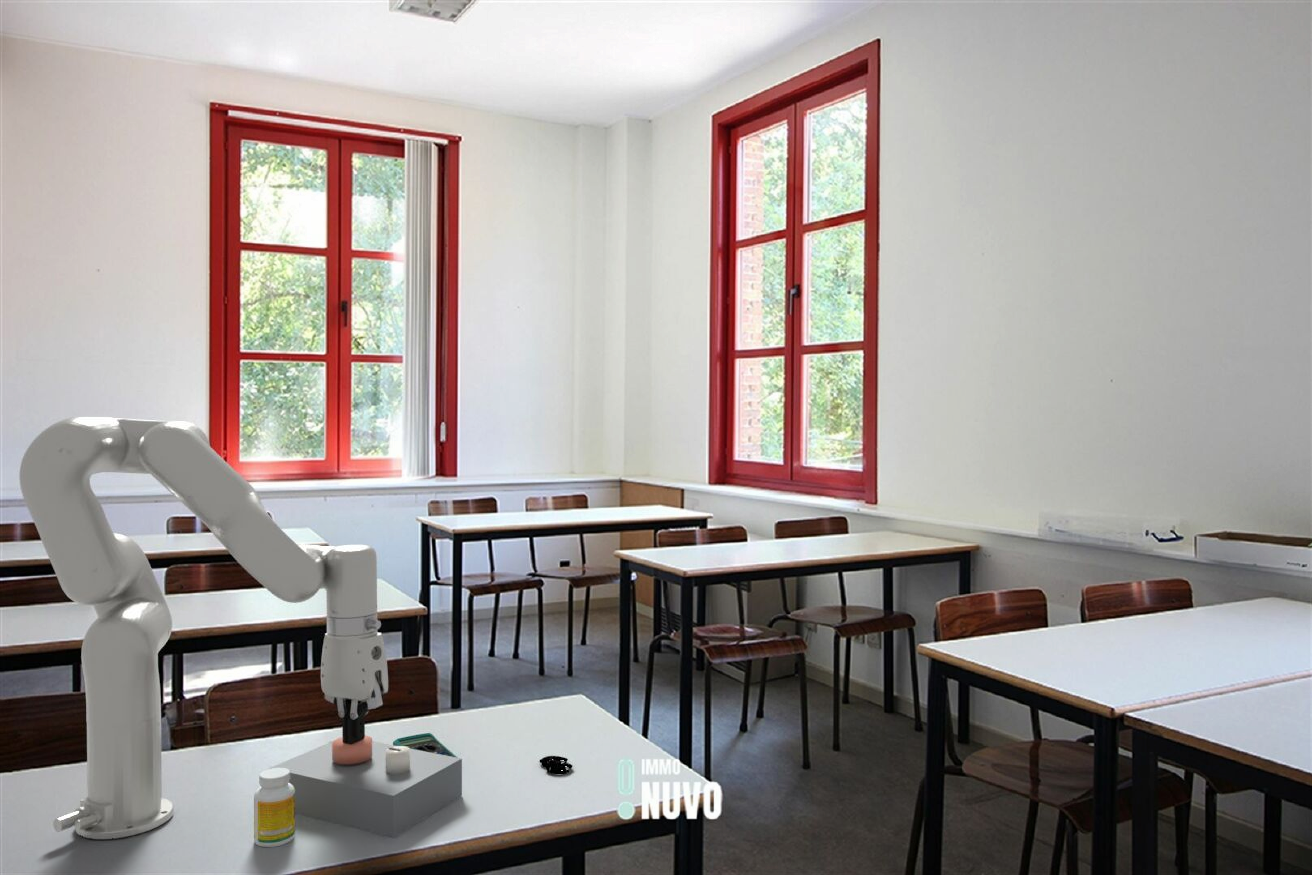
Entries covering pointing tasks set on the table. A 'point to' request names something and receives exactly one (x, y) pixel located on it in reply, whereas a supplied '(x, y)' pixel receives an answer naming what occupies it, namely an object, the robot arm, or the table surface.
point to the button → (351, 751)
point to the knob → (397, 759)
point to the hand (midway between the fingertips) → (353, 740)
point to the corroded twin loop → (555, 764)
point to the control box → (373, 788)
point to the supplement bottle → (274, 808)
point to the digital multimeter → (424, 744)
